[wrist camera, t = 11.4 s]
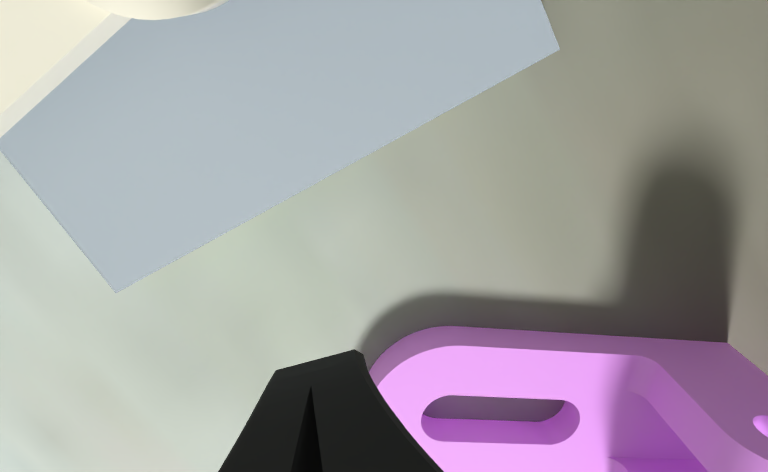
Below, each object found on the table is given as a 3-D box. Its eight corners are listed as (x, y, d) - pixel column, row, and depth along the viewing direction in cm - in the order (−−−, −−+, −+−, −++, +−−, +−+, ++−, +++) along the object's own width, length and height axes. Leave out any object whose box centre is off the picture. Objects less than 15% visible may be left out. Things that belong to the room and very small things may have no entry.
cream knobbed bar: (169, -251, 12) (131, -318, 9) (306, -68, 13) (307, -83, 11) (-174, 85, 13) (-289, 107, 11) (-16, 219, 15) (-84, 266, 12)
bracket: (725, 340, 23) (893, 479, 16) (679, 464, 25) (813, 631, 18) (372, 318, 20) (404, 468, 14) (352, 455, 22) (372, 642, 16)
